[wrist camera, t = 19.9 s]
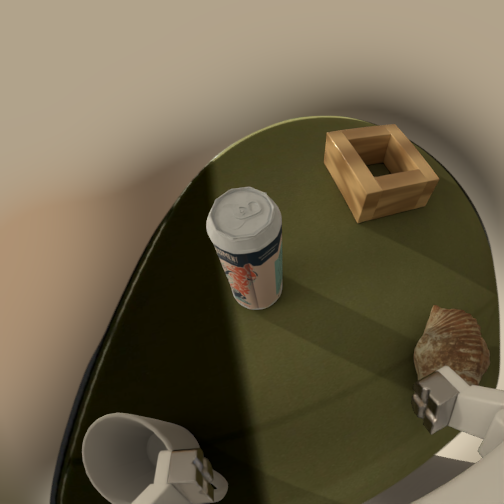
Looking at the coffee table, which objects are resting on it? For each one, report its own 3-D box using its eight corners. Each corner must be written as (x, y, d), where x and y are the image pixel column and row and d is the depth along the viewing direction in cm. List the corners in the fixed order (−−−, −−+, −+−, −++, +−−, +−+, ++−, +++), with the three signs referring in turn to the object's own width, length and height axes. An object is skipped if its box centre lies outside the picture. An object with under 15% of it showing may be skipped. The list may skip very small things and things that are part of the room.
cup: (148, 400, 23) (97, 393, 16) (250, 441, 21) (235, 458, 14) (125, 464, 20) (71, 476, 12) (223, 508, 18) (198, 547, 10)
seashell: (388, 403, 22) (459, 410, 19) (414, 405, 15) (497, 409, 13) (406, 309, 25) (471, 321, 23) (432, 283, 19) (507, 297, 17)
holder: (425, 206, 31) (439, 179, 26) (357, 223, 30) (367, 194, 26) (387, 151, 36) (395, 124, 31) (323, 162, 35) (326, 132, 31)
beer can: (225, 276, 29) (193, 198, 18) (269, 258, 29) (261, 172, 19) (243, 319, 26) (217, 257, 16) (290, 299, 27) (295, 225, 17)
